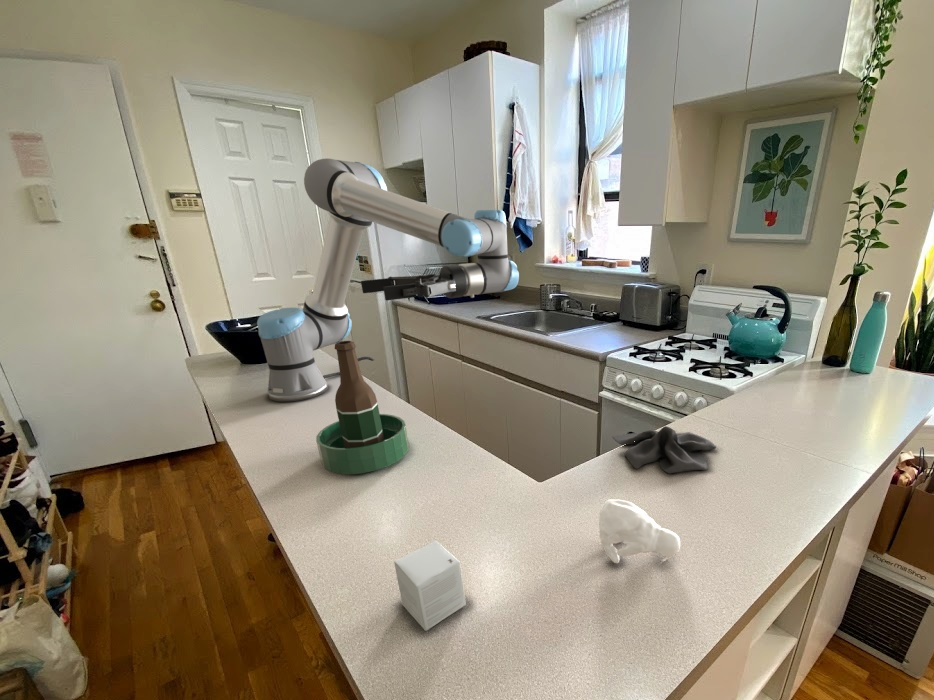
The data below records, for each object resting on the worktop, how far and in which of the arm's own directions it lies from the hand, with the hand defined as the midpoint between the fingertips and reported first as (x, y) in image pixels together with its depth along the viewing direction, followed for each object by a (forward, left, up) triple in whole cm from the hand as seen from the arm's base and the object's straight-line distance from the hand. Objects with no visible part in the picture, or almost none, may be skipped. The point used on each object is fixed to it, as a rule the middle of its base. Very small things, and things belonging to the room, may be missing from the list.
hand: (372, 290), depth 100 cm
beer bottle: (+16, 0, -32) cm, 35 cm away
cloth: (+10, +62, -32) cm, 71 cm away
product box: (+55, +28, -32) cm, 69 cm away
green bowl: (+16, 0, -32) cm, 36 cm away
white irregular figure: (+43, +55, -32) cm, 77 cm away
